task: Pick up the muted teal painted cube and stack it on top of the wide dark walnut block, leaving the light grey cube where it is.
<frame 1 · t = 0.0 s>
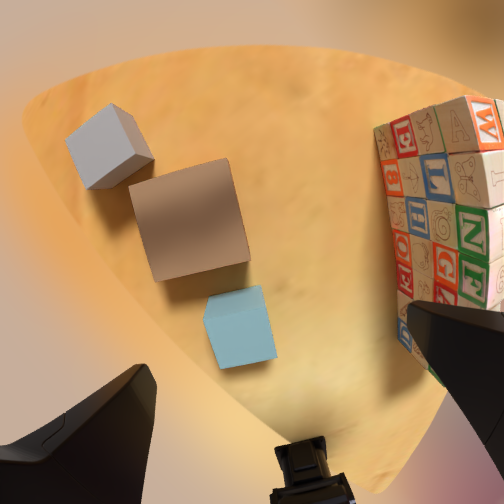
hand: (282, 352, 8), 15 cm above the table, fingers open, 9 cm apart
walnut block: (196, 216, 22), on the table
teal cube: (240, 313, 24), on the table
light grey cube: (121, 151, 20), on the table
stack of blocks: (416, 235, 23), on the table
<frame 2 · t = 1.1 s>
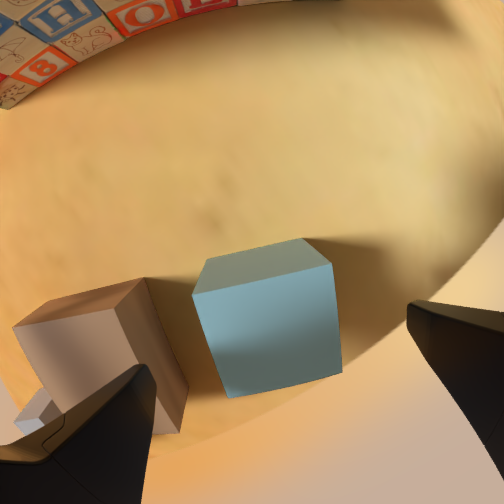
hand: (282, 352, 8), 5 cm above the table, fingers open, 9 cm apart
walnut block: (115, 344, 14), on the table
teal cube: (264, 292, 13), on the table
light grey cube: (71, 405, 15), on the table
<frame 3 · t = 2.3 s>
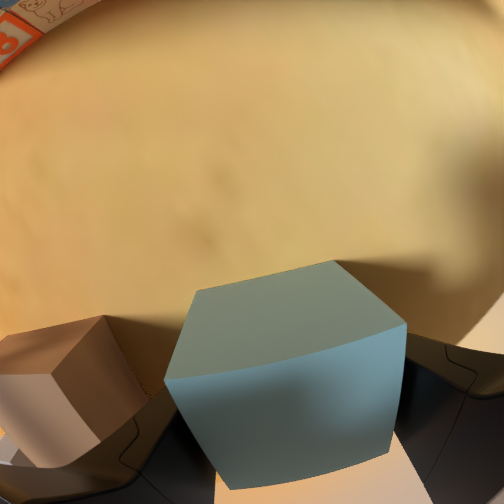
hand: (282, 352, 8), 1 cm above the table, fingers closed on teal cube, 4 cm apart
walnut block: (84, 389, 10), on the table
teal cube: (278, 336, 9), on the table, touching gripper
light grey cube: (50, 441, 11), on the table
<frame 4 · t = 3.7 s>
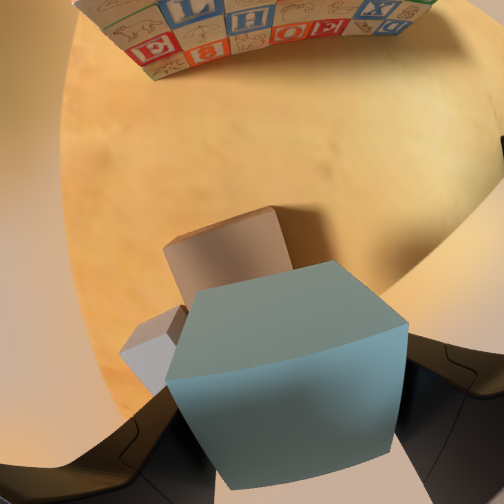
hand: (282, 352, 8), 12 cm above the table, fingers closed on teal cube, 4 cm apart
walnut block: (238, 265, 21), on the table
teal cube: (279, 336, 9), point 11 cm above the table, touching gripper
light grey cube: (173, 336, 22), on the table
stack of blocks: (274, 17, 16), on the table
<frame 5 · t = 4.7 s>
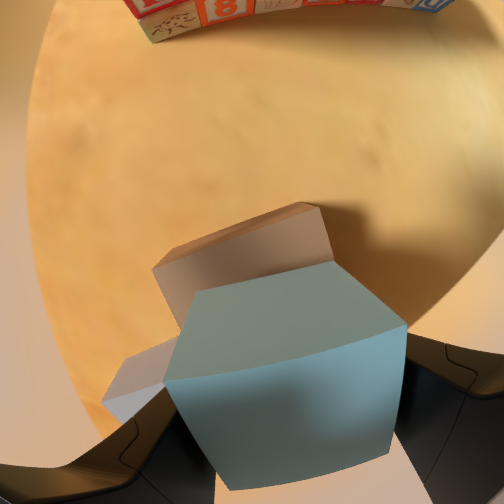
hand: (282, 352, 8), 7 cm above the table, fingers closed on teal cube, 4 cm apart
walnut block: (257, 284, 15), on the table
teal cube: (278, 336, 9), point 6 cm above the table, touching gripper
light grey cube: (171, 373, 16), on the table
when the fingers open (6 cm above the table, at t = 5.1 s): teal cube drops 2 cm, resting on walnut block.
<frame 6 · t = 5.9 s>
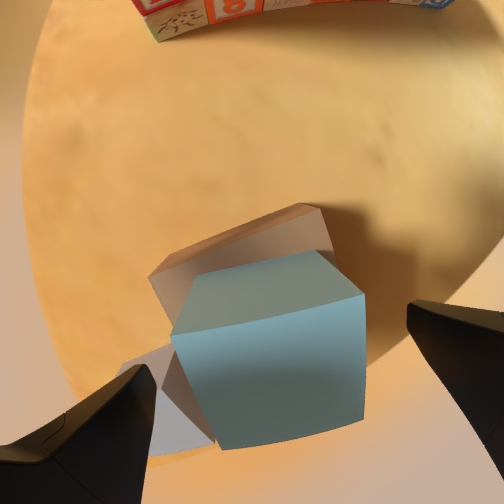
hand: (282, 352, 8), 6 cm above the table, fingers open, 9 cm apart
walnut block: (258, 288, 15), on the table, touching teal cube
teal cube: (267, 316, 11), point 4 cm above the table, touching walnut block
light grey cube: (170, 378, 16), on the table
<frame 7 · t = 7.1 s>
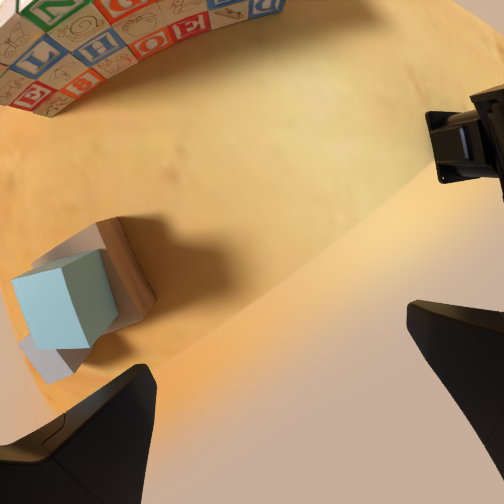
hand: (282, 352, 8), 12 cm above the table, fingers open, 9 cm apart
walnut block: (103, 274, 20), on the table, touching teal cube
teal cube: (82, 287, 16), point 4 cm above the table, touching walnut block
light grey cube: (67, 334, 21), on the table
stack of blocks: (148, 30, 16), on the table
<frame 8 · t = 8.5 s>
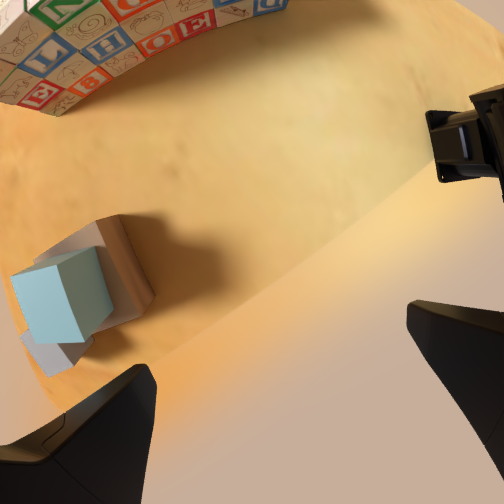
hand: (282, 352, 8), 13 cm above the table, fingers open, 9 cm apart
walnut block: (104, 270, 20), on the table
teal cube: (79, 283, 16), point 4 cm above the table
light grey cube: (68, 328, 21), on the table
stack of blocks: (153, 29, 16), on the table
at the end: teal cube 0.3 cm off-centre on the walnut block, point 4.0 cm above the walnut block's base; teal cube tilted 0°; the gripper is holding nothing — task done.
